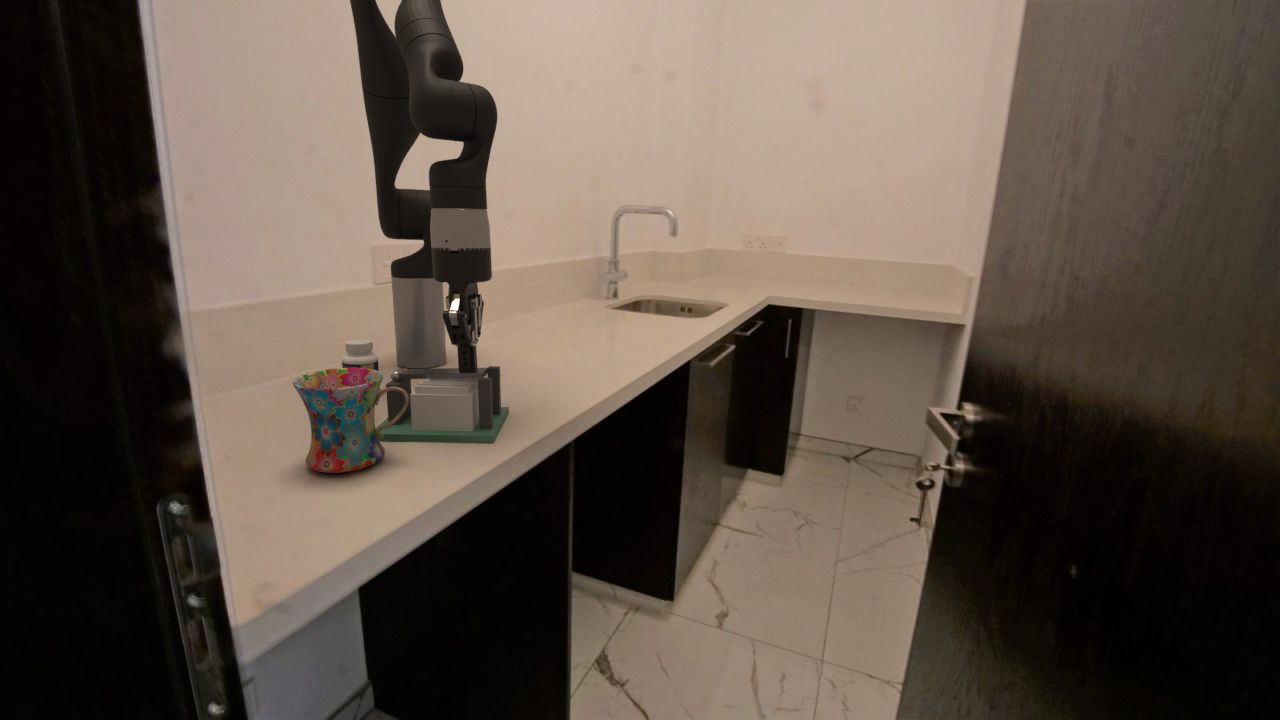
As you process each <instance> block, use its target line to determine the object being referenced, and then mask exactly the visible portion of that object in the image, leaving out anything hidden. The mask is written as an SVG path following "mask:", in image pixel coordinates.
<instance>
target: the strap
mask: <svg viewBox="0 0 1280 720" xmlns="http://www.w3.org/2000/svg"><path fill="white" fill-rule="evenodd" d="M487 373H488V367H477V370H476V371H475V372H462V373H460V372H459V367H452V368H450V367H448V368H446V367H445V368H441V367H440V368H439V367H438V368H407V370H406V369H404V367H400V368H398V369H397V370H396V371H394V372H393V373H392V374H391V375H390V379H391V381H392V380H397V379H399V378H402V379H411V380H427V379H441V378H480V377H485V376H487Z"/></svg>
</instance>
